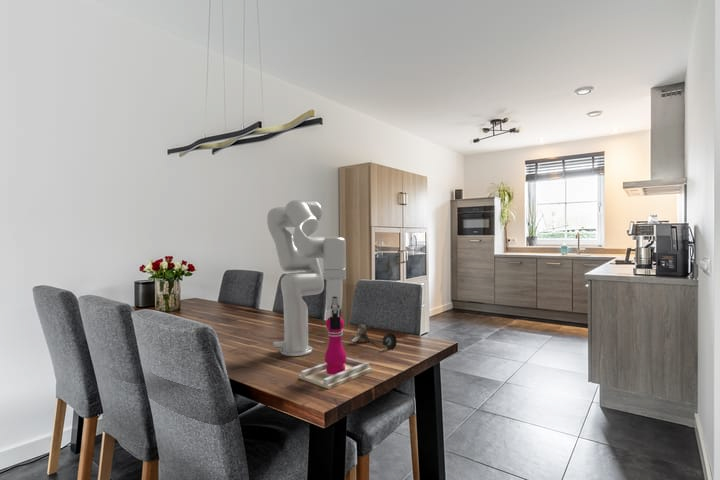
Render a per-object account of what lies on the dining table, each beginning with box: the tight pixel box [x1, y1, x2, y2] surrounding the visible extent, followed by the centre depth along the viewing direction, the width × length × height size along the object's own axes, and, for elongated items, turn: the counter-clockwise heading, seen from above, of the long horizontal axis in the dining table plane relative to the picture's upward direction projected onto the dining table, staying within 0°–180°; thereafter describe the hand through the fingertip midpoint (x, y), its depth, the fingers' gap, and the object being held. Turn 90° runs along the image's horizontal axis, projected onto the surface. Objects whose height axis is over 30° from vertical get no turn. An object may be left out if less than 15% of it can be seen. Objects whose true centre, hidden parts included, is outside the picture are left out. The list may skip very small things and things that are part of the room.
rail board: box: [298, 356, 373, 390], centre depth 127 cm, size 20×14×2 cm
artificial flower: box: [351, 323, 398, 350], centre depth 163 cm, size 9×22×10 cm, turn 39°
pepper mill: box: [324, 316, 347, 375], centre depth 127 cm, size 7×7×20 cm
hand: (335, 325), depth 127 cm, fingers open, 9 cm apart
